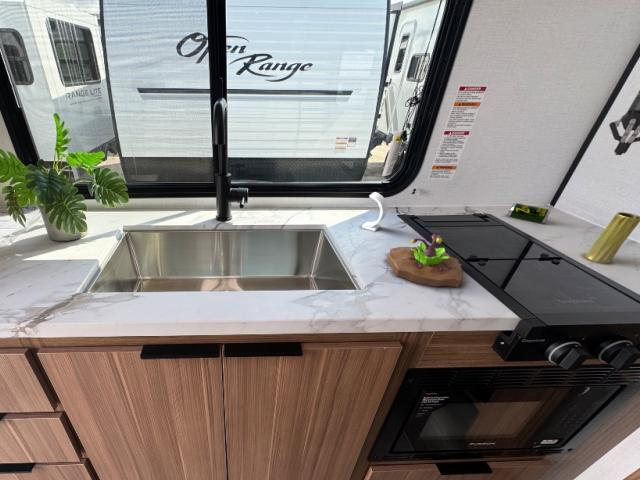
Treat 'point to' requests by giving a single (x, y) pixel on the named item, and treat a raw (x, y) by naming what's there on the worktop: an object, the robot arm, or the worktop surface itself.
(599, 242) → the vase
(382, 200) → the headphone stand
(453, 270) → the plant
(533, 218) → the beer can
